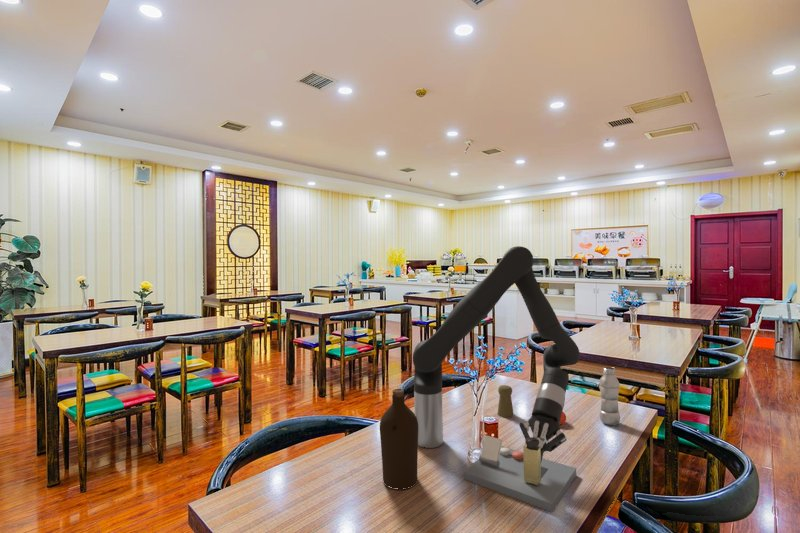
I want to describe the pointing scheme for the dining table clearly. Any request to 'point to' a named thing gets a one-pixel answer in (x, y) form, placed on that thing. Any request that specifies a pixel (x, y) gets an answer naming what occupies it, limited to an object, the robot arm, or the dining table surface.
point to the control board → (512, 479)
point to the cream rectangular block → (491, 451)
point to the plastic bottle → (609, 397)
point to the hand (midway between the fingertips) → (534, 463)
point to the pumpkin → (563, 418)
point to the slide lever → (532, 461)
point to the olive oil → (399, 443)
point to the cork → (505, 401)
